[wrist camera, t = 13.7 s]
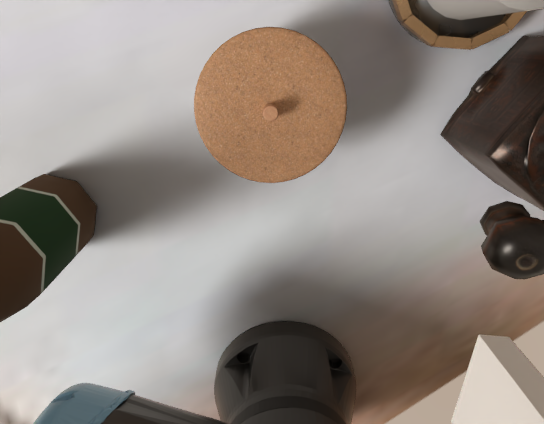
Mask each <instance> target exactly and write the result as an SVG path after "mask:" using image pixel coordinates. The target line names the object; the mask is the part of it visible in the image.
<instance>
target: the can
mask: <svg viewBox="0 0 544 424" xmlns="http://www.w3.org/2000/svg"><path fill="white" fill-rule="evenodd" d="M427 1H428V3H429V4H430V5H431V7H432V8H433V9H434V10H436V11H437V12H439V13H440V14H442V15H443V16H445V17H448V18H453V19H457V20H464V19H472V18H479V17H486V16H494V15H501V14H509V13H516V12H523V11H531V10H538V9H544V0H427Z"/></svg>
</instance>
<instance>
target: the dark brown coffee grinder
mask: <svg viewBox="0 0 544 424" xmlns="http://www.w3.org/2000/svg"><path fill="white" fill-rule="evenodd" d="M441 136H442V137H443V138H444V139H445V140H446V141H447V142H448V143H449V144H451V145H452V146H453V147H454V149H455V150H456V151H457V152H458V153H460V154H461V155H462V156H463V157H464V158H465V159H467V160H468V161H469V162H470V163H471V164H472V165H474V166H475V167H476V168H477V169H478V170H480V171H481V172H482V173H483V174H485V175H486V176H487V177H488V178H490V179H491V180H492V181H493V182H495V183H496V184H498V185H499V186H501V187H503V188H504V189H506V190H508V191H509V192H511V193H512V194H514V195H516V196H517V197H520V198H522V199H524V200H525V201H527V202H529V203H531V204H533V205H535V206H536V207H538V208H539V209H541V210H543V211H544V36H539V37H527V36H522V37H521V38H520V39H519V40H518V41H517V43H516V44H515V45H514V46H513V47H512V48H511V49H510V50H509V51H508V52H507V53H506V54H505V55H504V56H503V57H502V58H501V59H500V60H499V61H498V62H497V63H496V64H495V65H494V66H493V67H492V68H491V69H490V70H489V71H486V72H485V73H484V74H483V75H482V76H481V77H480V78H479V79H478V80H477V82H476V83H475V84H474V85H473V87H472V88H471V91H470V93H469V95H468V97H467V98H466V99H465V100H464V101H463V103H462V104H461V105H460V106H459V108H458V109H457V110H456V111H455V113H454V114H453V115H452V117H451V118H450V120H449V121H448V123H447V125H446V126H445V128H444V130H443V131H442V133H441ZM480 223H481V225H482V228H483V230H484V232H485V234H486V235H487V237H486V239H485V241H484V242H483V244H482V245H481V247H482V251H483V254H484V256H485V258H486V259H487V261H488V263H489V265H490V266H491V268H492V269H493V270H496V271H498V272H500V273H502V274H505V275H507V276H509V277H512V278H514V279H528V278H531V277H535V276H538V275H542V274H544V220H540V219H538V218H533V217H530V214H529V213H528V212H527V210H526V209H525V208H524V206H523V205H521V204H517V203H513V202H508V201H506V202H503V203H500V204H496V205H493V206H490V207H489V208H488V209H487V211H486V212H485V214H484V215H483V217H482V219H481V220H480Z"/></svg>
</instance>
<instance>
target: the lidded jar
mask: <svg viewBox="0 0 544 424" xmlns="http://www.w3.org/2000/svg"><path fill="white" fill-rule="evenodd" d="M346 111H347V98H346V91H345V86H344V82H343V79H342V77H341V74H340V71H339V70H338V68H337V66H336V64H335V63H334V61H333V59H332V58H331V57H330V56H329V54H328V53H327V52H326V51H325V50H324V49H323V48H322V47H321V46H320V45H319V44H317V43H316V42H315V41H313V40H312V39H310V38H308V37H307V36H305V35H303V34H301V33H298V32H296V31H293V30H289V29H285V28H277V27H264V28H255V29H252V30H249V31H245V32H242V33H240V34H238V35H236V36H234V37H232V38H231V39H229V40H228V41H226V42H225V43H224V44H222V45H221V46H220V47H219V48H218V49H217V50H216V51H215V52H214V53H213V54H212V56H211V57H210V58H209V60H208V61H207V63H206V64H205V66H204V68H203V70H202V72H201V74H200V76H199V79H198V83H197V86H196V91H195V98H194V112H195V119H196V124H197V127H198V130H199V133H200V136H201V138H202V140H203V142H204V144H205V146H206V147H207V149H208V150H209V151H210V153H211V154H212V156H213V157H214V158H215V159H216V160H217V161H218V162H219V163H220V164H221V165H223V166H224V167H225V168H227V169H228V170H229V171H231V172H233V173H235V174H236V175H238V176H240V177H243V178H246V179H249V180H252V181H257V182H266V183H276V182H284V181H288V180H292V179H296V178H298V177H300V176H303V175H305V174H307V173H308V172H310V171H311V170H313V169H315V168H316V167H317V166H318V165H319V164H321V163H322V162H323V161H324V160H325V159H326V158H327V157H328V155H329V154H330V153H331V152H332V150H333V149H334V147H335V146H336V144H337V142H338V140H339V138H340V136H341V133H342V131H343V127H344V124H345V120H346Z"/></svg>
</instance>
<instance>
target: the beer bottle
mask: <svg viewBox="0 0 544 424" xmlns="http://www.w3.org/2000/svg"><path fill="white" fill-rule="evenodd" d="M96 211H97V206H96V204H95V203H94V202H93V201H92V199H91V198H90V197H89V196H88V194H87V193H86V192H85V191H84V189H83V188H82V187H81V186H80V184H79V183H78V182H77V181H73V180H68V179H64V178H59V177H55V176H50V175H46V174H43V175H41V176H39V177H36V178H34V179H32V180H30V181H29V182H27V183H25V184H23V185H22V186H20V187H18V188H16V189H15V190H13V191H11V192H9V193H8V194H6V195H4V196H2V197H0V322H2V321H3V320H5V319H7V318H8V317H10V316H12V315H13V314H15V313H17V312H18V311H20V310H22V309H23V308H25V307H27V306H28V305H29V304H30V303H31V302H32V301H33V300H35V299H36V298H37V297H38V296H39V295H40V294H41V293H42V292H43V291H44V290H45V289H46V288H47V287H48V286H49V284H50V283H51V282H52V281H53V280H54V279H55V278H56V277H57V276H58V275H59V274H60V273H61V271H62V270H63V269H64V268H65V267H66V266H67V265H68V264H69V263H70V262H71V261H72V259H73V258H74V257H75V256H76V255H77V254H78V253H79V252H80V251H81V250H82V249H83V247H84V246H85V245H86V244H87V243H88V242H89V240H90V239H91V238H92V236H93V235H94V229H95V220H96Z"/></svg>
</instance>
